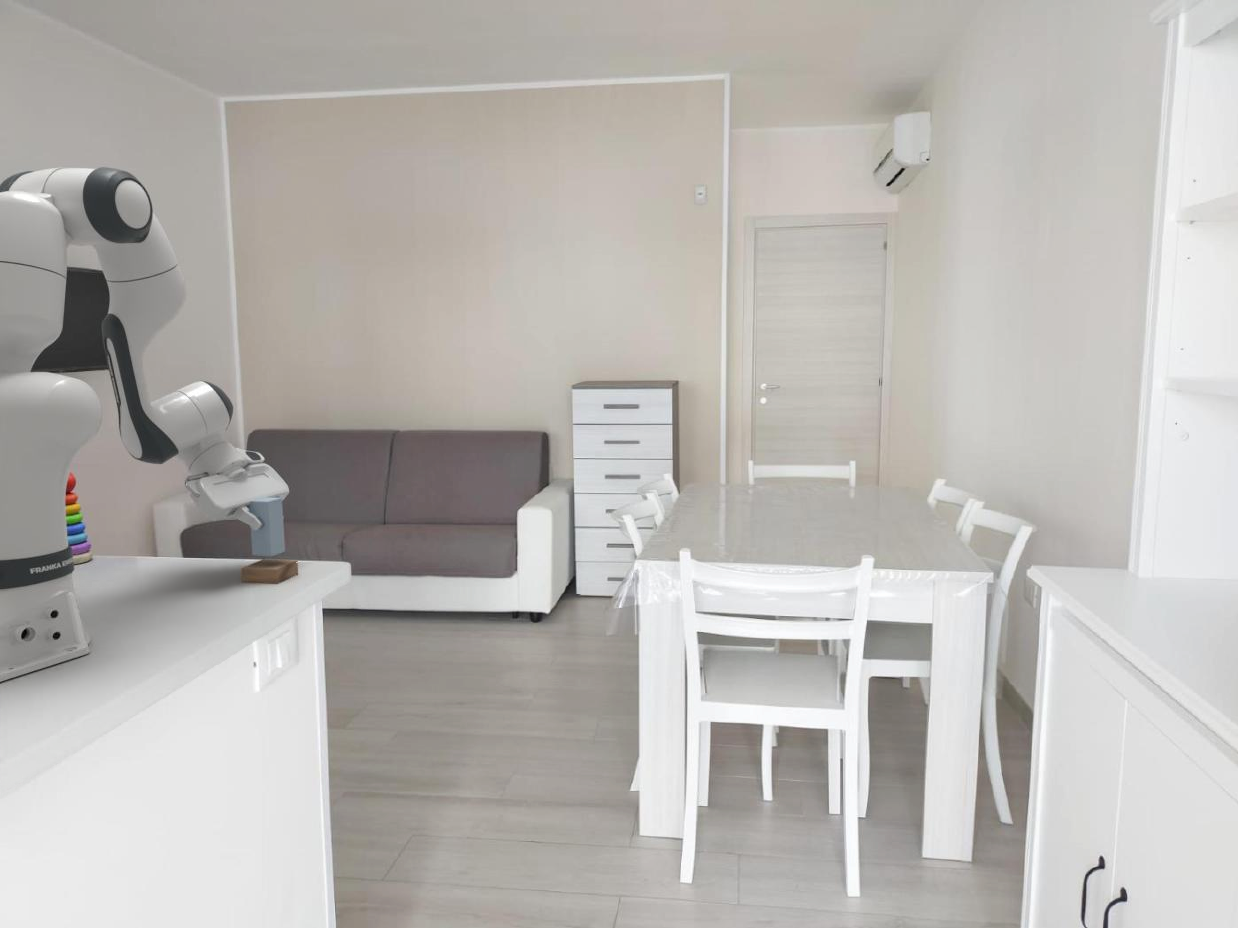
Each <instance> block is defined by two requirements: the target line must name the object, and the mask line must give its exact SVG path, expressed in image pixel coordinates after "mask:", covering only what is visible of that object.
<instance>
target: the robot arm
mask: <svg viewBox="0 0 1238 928" xmlns="http://www.w3.org/2000/svg"><path fill="white" fill-rule="evenodd" d="M69 246H77V247H79V246H80V247H86V246H89V247H90V246H92V248H94V249H95V251H96V254H97V259H98V261H99V264H100V268H101V270H102V274H103V275H104V278H105V280H106V284H107V287H108V291H109V292H108V293H109V305H108V312H107V315H106V316H105V317H104V319H102V322H101V335H102V343H103V349H104V353H105V359H106V362H107V367H108V372H109V376H110V381H111V385H112V390H113V394H114V399H115V403H116V407H117V414H118V429H119V430H118V431H119V435H120V438H121V442H122V444H123V446H124V448H125V449H126V451H127V453H129V455H130V456H131V457H132V458H133V459H135V460H138V461H140V462H143V463H147V464H153V465H163V464H165V463H166V462H168V461H169V460H171V459H172V458H174V457H175V458H176V459H177V460H178V461H181V462H182V463H183V464H184V466H185V467H186V470H187V472H188V473H189V474H190V475H188V476H187V477H186V478H185V479H184V487H185V488H186V490H187V491H188V493H189V495H190V496H189V497H190V498H191V500H192V501H193V503H194V504H195V506H196V507H197V508H198V510H199V511H200V513H201V514H203V516H204V517H205V518H206V519H208V520H210V521H212V522H217V521H219V520H223V519H227V518H230V517H235V518H236V519H237V520H238V521H240V522H243V523H244V524H246V525H249V527H250V526H251V527H250V529H251V528H252V529H253V530H259V529H262V527H263V526H264V525H265V522H264V521H263V520H262V519H261V518H260V516H259V517H256V516H254V515H253V514H251V513H250V512H249V504H250V503H251V501H253V500H257V499H261V498H265V497H268V498H282V502H283V501H284V500H285V498H287V496H288V495H289V493H290V489H289V486H288V484H287V483H286V482H285V480H284V478H282V477H281V475H279V473H278V472H277V471H276V470H275V469H274V468H273V467H272V466H270V465H269V464H267V463H265V462H264V461H265V460H266V459H265V457H264V456H263V454H261V453H260V452H258V451H251V450H246V449H242V448H239V447H235V446H234V445H233V444H232V443H231V442H229V441H228V440H227V439H225V438H224V433H225V432H226V431H227V430H228V429H229V426H230V425H231V421H232V418H233V415H234V405H233V402H232V401H231V399H230V397H229V396H228V395H227V394H226V392H224V390H222V389H221V387H219V386H217V385H216V384H214V383H212V382H209V381H205V380H199V381H195V382H193V383H190V384H188V385H185V386H183V387H181V388H179V389H176V390H174V391H172V392H171V393H169V394H167V395H165V396H162V397H160V398H158V399H156V400H154V401H151V400H150V396H149V391H148V390H149V389H148V385H147V381H146V376H145V371H144V368H143V366H144V365H143V361H144V359H143V358H144V355H145V352H146V350H147V348H148V347H149V345H151V343H152V341H154V339H155V338H156V337H157V336H158V334H160V333H161V331H163V330H164V329H165V328H166V327H167V326H168V325H170V324H171V323H172V322H173V321H174V320H175V319H176V318H177V316H178V315H179V314H180V312H181V311H182V309H183V307H184V305H185V302H186V298H187V286H186V282H185V278H184V274H183V271H182V269H181V265H180V264H179V261H178V259H177V256H176V253H175V251H174V248H173V246H172V244H171V242H170V240H169V237H168V236H167V234H166V232H165V230H164V228H163V227H162V224H161V222H160V221H159V219H158V217H157V216H156V214H155V212H154V210H153V204H152V200H151V197H150V194H149V192H148V190H147V189H146V187H145V186H144V184H142V182H140V180H139V179H138V178H137V177H136V176H135V175H133V174H132V173H131V172H128V171H126V170H123V169H122V170H121V169H119V168H113V167H105V166H103V167H97V168H90V167H85V168H84V167H69V166H63V167H54V168H53V167H52V168H51V167H50V168H46V169H45V168H44V169H40V170H35V171H34V170H25V171H21V172H18V173H16V174H12V175H10V176H9V177H7V178H6V179H4V180H3V181H2V182H1V183H0V682H3V681H7V680H10V679H13V678H17V677H19V676H22V675H25V674H29V673H32V672H34V671H39V670H41V669H44V668H47V667H51V666H54V665H56V664H59V663H62V662H66V661H69V660H72V659H76V658H79V657H81V656H84V655H87V654H89V653H90V648H89V644H90V643H91V642H92V641H91V640H92V639H91V636H90V634H89V632H88V630H87V628H86V625H85V622H84V620H83V617H82V613H81V611H80V607H79V602H78V597H77V593H76V590H75V589H76V588H75V586H74V580H73V572H74V571H75V564H74V559H73V553H72V547H71V546H70V545H68V538H67V524H66V507H65V495H66V486H67V481H68V477H69V474H70V472H71V471H72V468H73V465H74V463H75V461H76V459H77V457H78V456H79V454H80V452H81V451H82V450H83V449H84V448H86V446H87V445H88V444H89V443H91V441H93V440H94V438H95V437H96V436H97V435H98V432H99V430H100V427H101V424H102V420H103V411H102V410H103V409H102V405H101V404H102V403H101V401H100V398H99V396H98V395H97V393H96V391H95V390H94V389H93V388H92V386H90V385H89V384H88V383H87V382H85V381H84V380H81V379H79V378H75V377H71V376H67V375H64V374H58V373H54V372H49V371H32V369H33V366H34V364H35V362H36V361H37V358H38V357H39V356H40V355H41V353H42V352H43V351H44V350H45V349H46V348H48V347H49V346H50V345H52V344H53V343H54V342H55V341H56V340H57V339H59V338H60V335H61V333H62V332H63V327H64V313H65V300H66V299H65V298H66V289H67V288H66V286H67V277H68V276H67V275H68V274H67V273H68V270H67V269H68V253H67V252H68V251H67V249H68V247H69ZM284 518H285V517H284V516H283V520H284Z"/></svg>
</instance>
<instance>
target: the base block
mask: <svg viewBox="0 0 1238 928" xmlns="http://www.w3.org/2000/svg"><path fill="white" fill-rule="evenodd" d="M296 562H298V560H297V559H269V558H268V559H267V558H262V559H261V560H258V561H256V562H253V563H251V564H248V565H246V566H244V567H240V571H241V583H245V584H264V585H265V584H266V585H267V584H268V585H269V584H270V585H279V584H281V583H282V582H285V581H287V580H289V579H291V577H292V578H293V576H294V577H295V575H296V576H297V574H298V575H299V562H298V563H296Z"/></svg>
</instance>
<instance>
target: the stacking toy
mask: <svg viewBox="0 0 1238 928" xmlns="http://www.w3.org/2000/svg"><path fill="white" fill-rule="evenodd" d="M76 484H77V480H76V476H75V475H74V474H73V473H72V472H71V471H70V474H69V477H68V481H67V486H66V495H65V507H66V524H67V538H68V545H70V546H71V547H72V553H73V559H74V565H79V564H82V563H86V562H88V561H90V560H91V559H92V558H93V557H94V554H93V551H92V550H91V549H92V548H91V547H92V543H91V542H90V541H89V540H88V533H87V532H86V531H85V529H86V524H85V522H84V521H83V517H84V516H83V514H82V513H81V512H80V511H81V510H82V509H81V508H82V507H81V506H82V505H80V503H78V502H77V501H78V498H79V497H78V494H77V493H75V492H73V490H74V489H75V488H76Z"/></svg>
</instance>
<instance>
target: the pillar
mask: <svg viewBox="0 0 1238 928" xmlns="http://www.w3.org/2000/svg"><path fill="white" fill-rule="evenodd" d="M249 512H250V513H251V514H253V515H254V516H256V517H259V516H260V518H261V519H262V520H263V521H264V522H265V525H264V526H263V527H262V529H259V530H253V529H252V528H251V526H250V525H249V527H250V538H251V539H250V540H251V552H252V553H251V554H252V556H260V557H273V556H277V555H280V554H282V553H284V552H286V543H285V541H286V540H285V527H284V524H285V523H284V519H283V517H284V511H283V501H282V498H268V497H265V498H261V499H257V500H253V501H251V503H250V504H249Z"/></svg>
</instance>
